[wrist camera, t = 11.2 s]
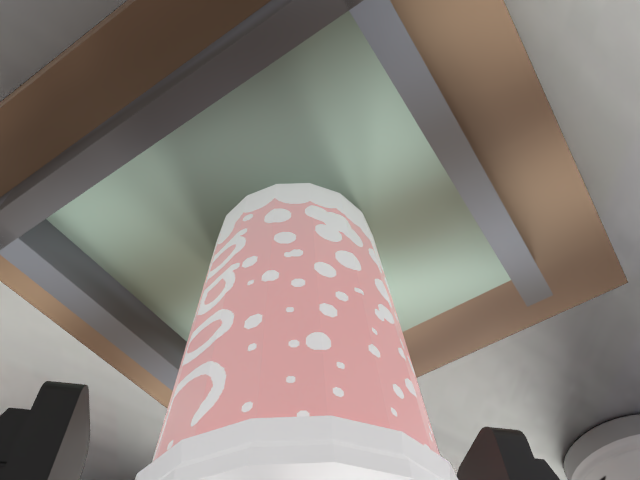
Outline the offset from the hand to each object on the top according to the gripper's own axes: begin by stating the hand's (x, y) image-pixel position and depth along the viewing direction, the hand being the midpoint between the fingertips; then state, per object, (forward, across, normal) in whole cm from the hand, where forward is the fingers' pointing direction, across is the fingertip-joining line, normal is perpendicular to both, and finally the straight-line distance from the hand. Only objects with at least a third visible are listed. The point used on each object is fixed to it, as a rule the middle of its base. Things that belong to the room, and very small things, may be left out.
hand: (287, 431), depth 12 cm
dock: (+10, 0, 0) cm, 10 cm away
